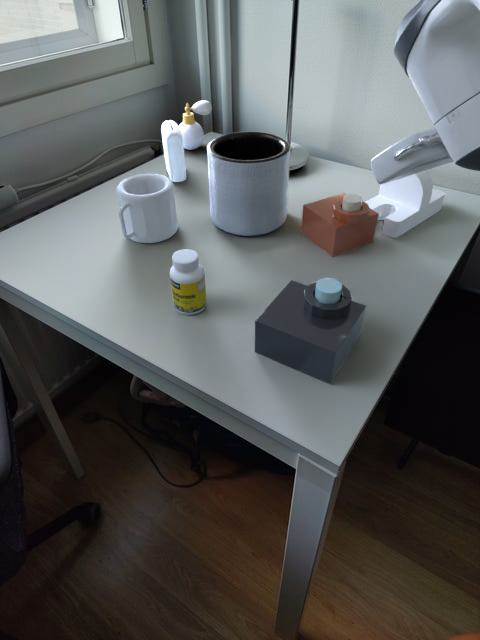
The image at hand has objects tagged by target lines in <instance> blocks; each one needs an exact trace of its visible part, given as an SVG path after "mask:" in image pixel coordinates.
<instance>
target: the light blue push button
mask: <svg viewBox="0 0 480 640" xmlns="http://www.w3.org/2000/svg"><path fill="white" fill-rule="evenodd" d="M316 282H317V283H316V288H315V298H316V300H317V301H319V302H321V303H324V304H335V303H337V302H338V301H339V300H340V298H341V292H342V285H343V284H342V283H341V281H340V280H338V279H336V278H333V277H322V278H320V279H318V280H317V281H316Z"/></svg>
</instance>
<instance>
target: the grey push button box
mask: <svg viewBox="0 0 480 640" xmlns="http://www.w3.org/2000/svg"><path fill="white" fill-rule="evenodd" d="M316 283H317V281H315V282H313V283H309V285H308V284H304V283H302V282H299V281H295V280H293V279H291V280H290V281H289V282H288V283H287V284H286V285H285V287H283V288H282V289H281V291H280V292H279V293H278V294H277V295H276V297H274V299H272V301H271V302H270V303H269V304H268V305H267V307H266V308H265V309H264V310H263V311H262V312H261V313H260V315H259V316H258V317H257V318H256V319H254V353H256V354H258V355H260V356H263V357H265V358H268V359H270V360H272V361H275V362H277V363H279V364H282V365H284V366H286V367H288V368H291V369H293V370H295V371H298V372H300V373H303V374H304V375H307V376H309V377H312V378H314V379H316V380H320V381H321V382H324V383H326V384H328V385H331V384H332V383H333V381H334V380H335V378H336V376H337V374H338V373H339V371H340V370H341V368H342V366H343V365H344V363H345V362H346V361H347V359H348V357H349V355H350V354H351V352H352V351H353V349H354V347H355V345H356V344H357V343H358V340H359V339H360V337H361V333H362V328H363V323H364V319H365V314H366V309H367V305H366V304H364V303H360V302H357V301H354V300H353V298H352V294H351V290H349V289H348V288H347V287H346V286H345V285H344V284H342V292H341V298H340V300H339V301H338V302H337V303H335V304H324V303H321V302H319V301H317V300H316V298H315V288H316Z"/></svg>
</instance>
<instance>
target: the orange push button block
mask: <svg viewBox="0 0 480 640" xmlns="http://www.w3.org/2000/svg"><path fill="white" fill-rule="evenodd" d="M347 194H348V193H345V192H342V193H339V194H335V195H332V196H328V197H325V198H322V199H319V200H316V201H313V202H310V203H306V204H303V207H302V217H301V229H300V234H301V235H302V236H304V237H305V238H307V239H308V240H309V241H310V242H312V243H313V244H314V245H316V246H317V247H319V248H320V249H321V250H322V251H324V252H325V253H326V254H328V255H329V257H330V256H331V257H332V258H334V257H337V256H339V255H342V254H344V253H347V252H351V251H353V250H356V249H358V248H361V247H363V246H366V245H368V244H372V243H374V239H375V234H376V229H377V225H378V221H379V220H378V215H379V213H377V212H376V211H374V210H372V209H371V208H369V206H368V204H367V203H365V202H366V201H363V200H362V205H361V210H360V211H357V212H349V211H345V210H343V209H342V203H343V197H344V196H345V195H347ZM377 220H378V221H377Z"/></svg>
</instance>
